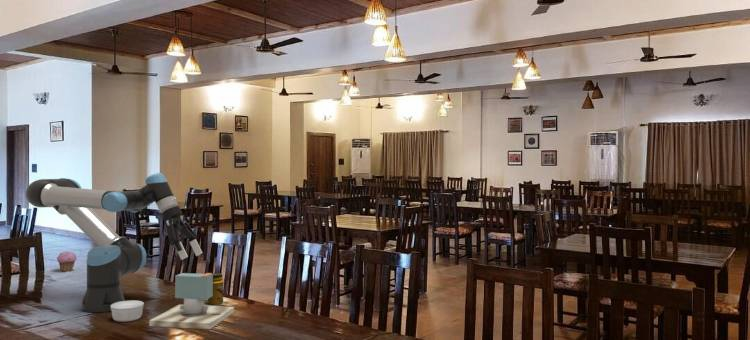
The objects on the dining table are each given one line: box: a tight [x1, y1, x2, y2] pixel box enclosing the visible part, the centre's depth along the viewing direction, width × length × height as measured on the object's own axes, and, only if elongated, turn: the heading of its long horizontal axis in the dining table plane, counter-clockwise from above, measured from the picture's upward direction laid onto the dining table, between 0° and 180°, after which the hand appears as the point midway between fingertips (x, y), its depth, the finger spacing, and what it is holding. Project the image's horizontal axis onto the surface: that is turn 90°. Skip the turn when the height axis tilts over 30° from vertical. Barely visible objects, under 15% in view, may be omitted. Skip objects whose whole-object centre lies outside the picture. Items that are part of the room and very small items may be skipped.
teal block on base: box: [174, 272, 213, 314], centre depth 202 cm, size 12×7×14 cm, turn 83°
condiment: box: [204, 272, 227, 306], centre depth 224 cm, size 7×8×12 cm
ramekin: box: [110, 299, 145, 323], centre depth 201 cm, size 11×11×5 cm
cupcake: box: [56, 251, 77, 273], centre depth 285 cm, size 9×9×10 cm
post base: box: [148, 304, 235, 330], centre depth 202 cm, size 22×22×2 cm
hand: (192, 256), depth 222 cm, fingers open, 13 cm apart
